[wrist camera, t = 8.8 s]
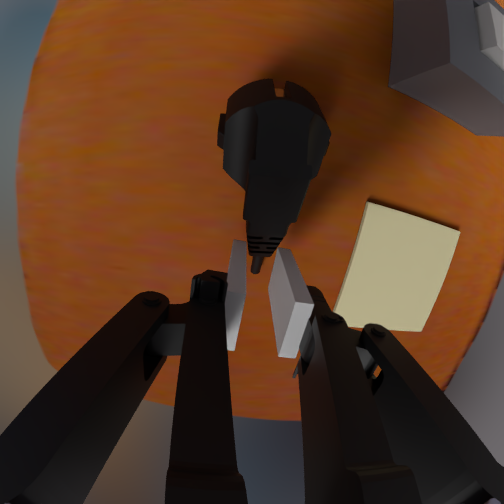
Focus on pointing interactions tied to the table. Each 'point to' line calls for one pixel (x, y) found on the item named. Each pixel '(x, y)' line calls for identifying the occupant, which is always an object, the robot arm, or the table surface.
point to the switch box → (447, 63)
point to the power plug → (272, 157)
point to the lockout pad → (395, 270)
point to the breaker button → (491, 32)
